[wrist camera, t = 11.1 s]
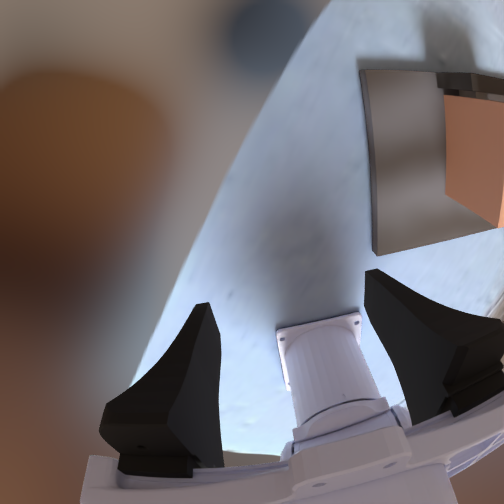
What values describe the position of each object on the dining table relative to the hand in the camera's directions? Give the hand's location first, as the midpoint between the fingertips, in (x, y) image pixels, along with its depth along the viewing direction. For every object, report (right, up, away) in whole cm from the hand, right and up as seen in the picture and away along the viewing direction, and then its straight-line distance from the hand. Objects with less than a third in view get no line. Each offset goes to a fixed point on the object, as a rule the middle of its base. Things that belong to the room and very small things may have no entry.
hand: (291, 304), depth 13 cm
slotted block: (+15, +11, +5) cm, 19 cm away
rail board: (+16, +10, +6) cm, 20 cm away
